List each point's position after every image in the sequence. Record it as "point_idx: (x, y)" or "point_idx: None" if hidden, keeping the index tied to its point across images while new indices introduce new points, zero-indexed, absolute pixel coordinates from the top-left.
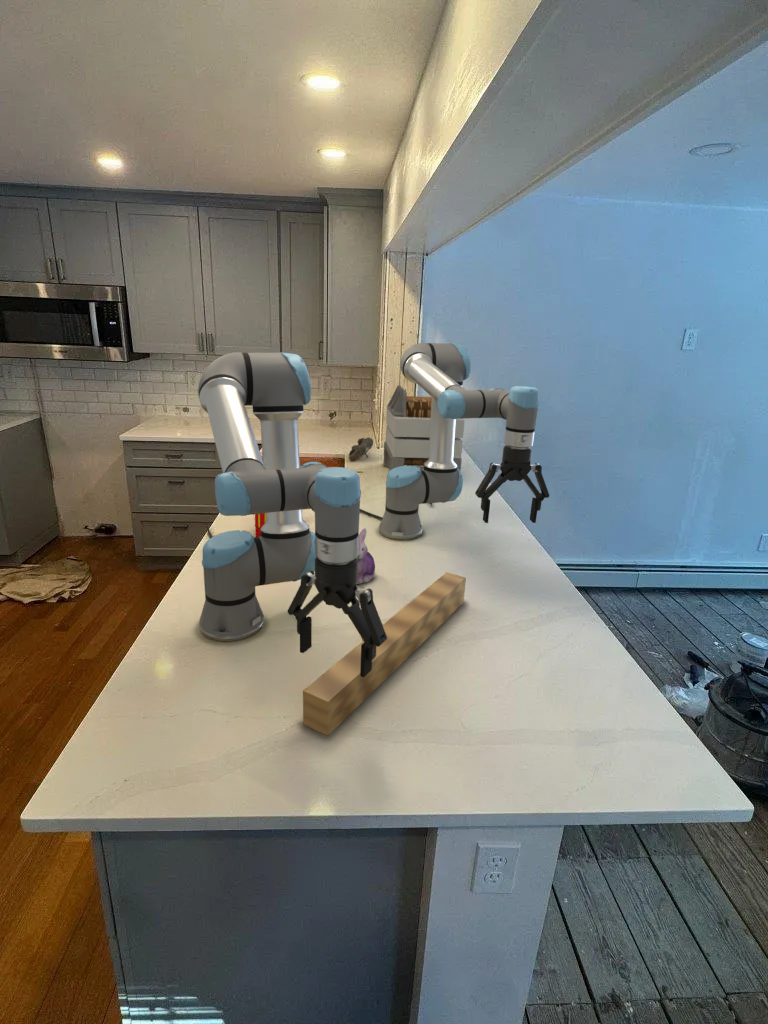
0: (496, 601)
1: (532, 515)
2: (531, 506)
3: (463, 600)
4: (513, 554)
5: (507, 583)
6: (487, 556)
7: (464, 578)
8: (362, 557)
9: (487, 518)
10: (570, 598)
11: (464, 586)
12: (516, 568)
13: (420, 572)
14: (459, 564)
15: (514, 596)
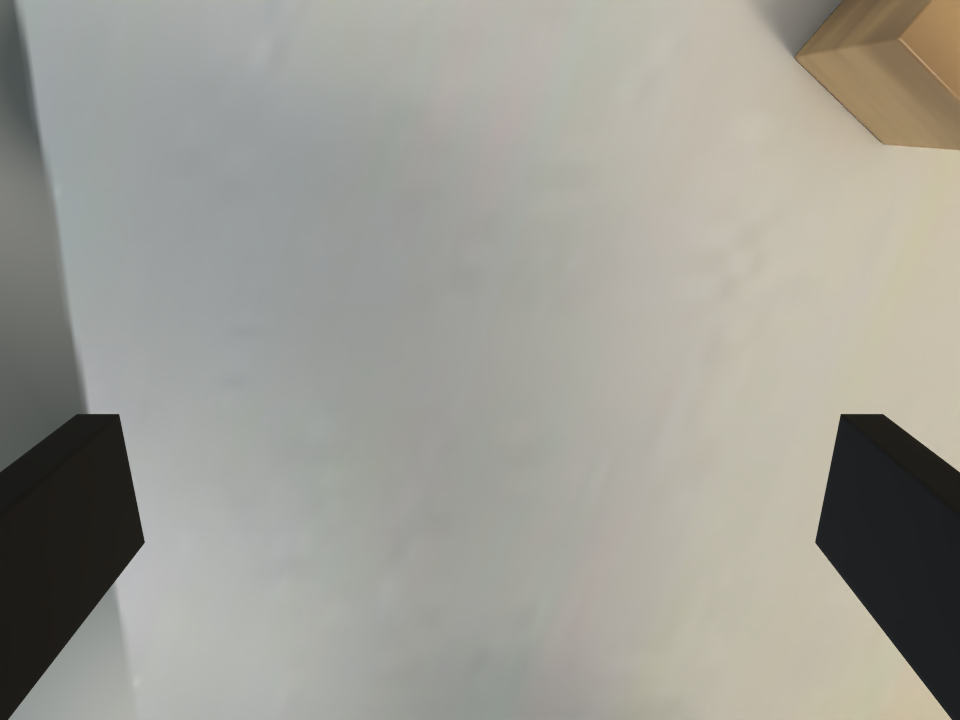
0: (569, 70)
1: (75, 521)
2: (11, 703)
3: (806, 51)
4: (279, 651)
5: (421, 310)
6: (438, 632)
7: (918, 20)
8: None
9: (899, 449)
10: (63, 93)
11: (867, 33)
12: (309, 492)
13: None
14: (634, 546)
15: (429, 136)
